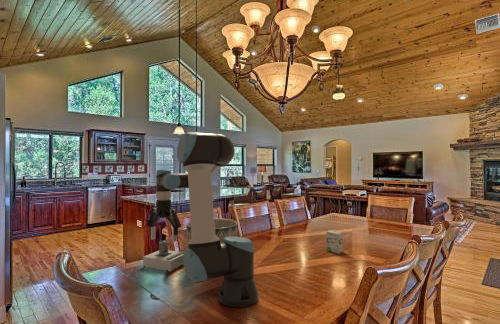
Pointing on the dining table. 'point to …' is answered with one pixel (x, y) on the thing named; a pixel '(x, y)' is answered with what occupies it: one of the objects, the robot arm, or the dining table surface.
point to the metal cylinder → (163, 248)
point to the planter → (219, 229)
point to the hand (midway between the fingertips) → (163, 240)
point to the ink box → (334, 241)
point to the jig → (164, 260)
